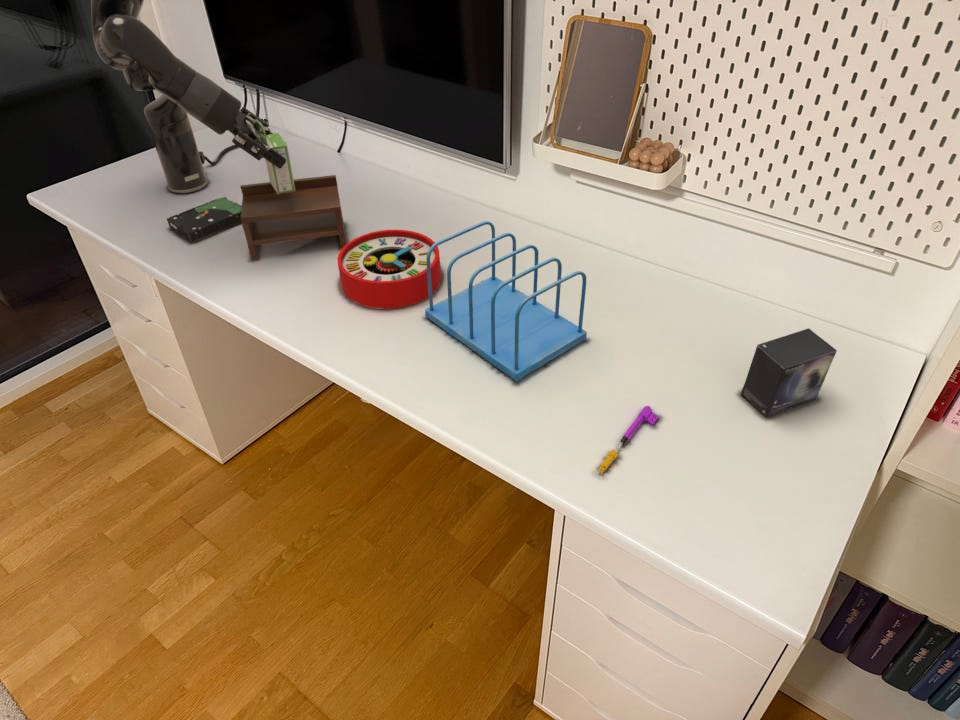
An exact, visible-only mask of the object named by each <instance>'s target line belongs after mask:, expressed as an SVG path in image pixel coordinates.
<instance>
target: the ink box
mask: <svg viewBox="0 0 960 720" xmlns="http://www.w3.org/2000/svg"><path fill="white" fill-rule="evenodd" d="M256 121H257V123H258V129H259V130H260V128H261V130H262V132H263V134H264V135H263V134H262V133H261V131H259V134H260V135H261V136H262V137H263V141H264V142H265V143H266V144H267V145H268V146H269V147H270V148H271V149H273V150H274V151H276V152H277V153H278V154H280V155H281V156H283V157H284V158H285V159H286V163H285V164H284V165H283V167H282V168H278V167H276V166H275V165H274V164H272V163H271V162H269V161H268V160H266V159H265V158H264V159H265V164H266V169H267V173H268V179H269V182H271V184H272V186H273V188H274V189H275V191H276V192H277V194H282V193H287V192H293V191H295V185H294V180H295V179H294V175H293V168H292V164H291V159H290V153H289V148H288V145H287V142H286V141H285V140H284V138H283V137H282V136H281V134H280V133H279V132H278V133H275V132H274V133H273V134H269V135H266V132H265V130H264V128H263V127H262V126H261V124H260V123H259V122H258V120H257V119H256ZM284 141H285V142H286V143H285V142H284Z"/></svg>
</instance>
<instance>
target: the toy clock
mask: <svg viewBox="0 0 960 720" xmlns="http://www.w3.org/2000/svg"><path fill="white" fill-rule="evenodd" d="M434 243H436V242H435V241H434V239H432V238H430V237H428V236H427V235H425V234H423V233H420V232H417V231H414V230H407V229H383V230H376V231H372V232H368V233H365V234H362V235H360V236H356V237H355V238H353V239H352V240H350V241H349V242H346V245H345V246H344V247H343V248H342V249H341V248H340V251H339V253H338V255H337V257H336V258H337V260H336V261H337V266H338V267H337V268H338V272H339V279H340V284H341V290H342V291H343V294H344V295H345V297H347V299H349V300H350V301H352V302H354V303H355V304H357V305H360V306H362V307H366V308H371V309H380V310H394V309H401V308H405V307H409V306H413V305H416V304H418V303H420V302H422V301H425V300H426V299H429V292H428V277H427V253H428V251H429V249H430V247H431V246H432V245H433V244H434ZM440 257H441V256H440V249H439V245H438V246H437V247H435V249H434V250H433V251H432V253H431V256H430V268H431V284H432V295H433V294H434V293H435V292H436V291H437V290H438V288H439V287H440V284H441V282H442V271H441V258H440Z"/></svg>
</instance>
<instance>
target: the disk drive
mask: <svg viewBox="0 0 960 720" xmlns="http://www.w3.org/2000/svg"><path fill="white" fill-rule="evenodd" d="M241 210H242V205H241V204H239V203H238V202H234V201H233V200H231V199H229V198H227V196H223V197H219V198H215V199H213V200H210V201H209V202H205V203H203V204H200V205H197V206H195V207H192V208H190V209H186V210H185V211H182V212H180V213H177V214H174V215H172V216H169V217H167V218H166V222H167V225H168V227H169V228H170V229H171V230H172V231H174V233H177V234H178V235H179V236H181V237H182V238H184V239H185V240H187V241H188V242H190V243H195V242H198V241H200V240H203V239H204V238H207V237H210V236H211V235H214V234H217V233H219V232H221V231H223V230H226V229H228V228H231V227H233V226H235V225H238V224H240V223H242V222H241Z"/></svg>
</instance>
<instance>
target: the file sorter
mask: <svg viewBox="0 0 960 720" xmlns="http://www.w3.org/2000/svg"><path fill="white" fill-rule="evenodd" d="M487 225H488V226H489V227H490V229H491V239H489V240H487V241H484V242H482V243H480V244H477V245H476V246H473V247H472V248H469V249H467V250H464V251H463V252H461V253H458V254H456V256H454V257H453V258H452V259H451V260H450V262H449V264H448V266H447V270H446V284H447V286H446V287H447V297H446V298H444V299H443V300H441V301H439V302H437V303H435V304H434V300H433V294H432V284H431V268H430V256H431V253H432V251H433V250H434V249H435V247H437V246H438V247H439V246H440V245H442V244H444V243H447V242H450V241H451V240H453V239H455V238H458V237H460V236H462V235H464V234H467V233H469V232H471V231H474V230H476V229H479V228H481V227H483V226H487ZM509 237H510V239H511V241H512V252H510V253H507V254H505V255H504V256H501V257H499V258H497V259H496V242H497V241H499V240H502V239H505V238H509ZM488 245H491V262H489V263H486V264H485V265H482V266H480V267H478V268H477V269H476V270H475V271H474V272H473V273H472V275H471V276H470V278H469V282H468V287H467V288H465V289H463V290H461V291H460V292H457V293H455V294H453V293H452V269H453V266H454V265H455V263H456V262H457V261H459V259H461V258H463V257H465V256H467V255H469V254H472V253H474V252H476V251H478V250H480V249H482V248H485V247H486V246H488ZM529 249H530V250H531V249H532V250H533V251H534V266H531V267H530V268H527V269H526V270H524V271H522V272H520V273H518V274H516V270H517V269H516V268H517V263H516V262H517V255H518V254H520V253H523V252H525V251H527V250H529ZM510 258H511V259H512V260H511V261H512V264H511V266H512V268H511V277H510V278H508V279H506V280H502V279H500V278H498V277H497V276H496V265H497V264H500V263H501V262H503V261H505V260H508V259H510ZM552 262H556V264H557V277H556V278H557V280H555V281H554V282H552V283H550V284H548V285H547V286H545V287H543V288H540V289H539V290H538V277H539V276H538V274H539V269H540V268H543V267H544V266H547V265H549V264H551V263H552ZM490 268H491V276H490V277H488V278H485V279H483V280H482V281H480V282H478V283H475V284H474V281H475V279H476V278H477V276H478V275H479V274H480V273H482V272H483V271H485V270H487V269H490ZM562 269H563V265H562V261H561V260H560V259H559V258H557V257H550V258H547V259H546V260H544V261H542V262H539V249H538V247H537V246H535V245H534V244H526V245H524V246H522V247H520V248H518V249H517V239H516V237H515V235H514V234H513V233H511V232H504V233H503V234H500V235H498V236H496V229H495V225H494V224H493V223H492V221H489V220H484V221H481V222H479V223H477V224H474V225H472V226H469V227H467V228H465V229H462V230H459V231H458V232H456V233H453V234H451V235H449V236H447V237H444V238H442V239H440V240H437V241H436V242H435V243H434V244H433V245H432V246H431V247H430V249H429V251H428V253H427V277H428V292H429V297H428V304H429V307H427V308H425V309H424V316H425V317H426V318H427V319H428V320H430V321H431V322H433V323H434V324H436V325H437V326H439V327H440V328H441V329H443V330H444V331H445V332H447V333H448V334H449V335H451V336H452V337H454V338H455V339H456V340H458V341H459V342H461V343H462V344H463V345H465V346H466V347H468V348H469V349H470V350H472V351H473V352H475V353H476V354H477V355H479V356H481V357H482V358H483V359H485V360H486V361H487V362H489V363H490V364H491V365H493V366H494V367H496V368H497V369H499V370H500V371H501V372H503V373H504V374H506V375H507V376H508V377H510V378H511V379H513V380H514V381H516V382H518V381H520V380H521V379H522V378H524V377H526V376H528V375H529V374H531V373H532V372H534V371H536V370H537V369H539V368H541V367H542V366H544V365H545V364H547V363H549V362H551V361H552V360H554V359H555V358H557V357H559V356H560V355H562V354H563V353H566V352H567V351H568V350H571V348H573V347H575V346H577V345H578V344H580V343H582V342H583V341H585V340H586V339H587V331H586V330H585V329H583V322H584V321H583V320H584V312H585V302H586V301H585V300H586V291H587V275H586V273H585V272H583V271H582V270H576V271H574V272H572V273H569V274H567V275H566V276H563V277H562V272H563V271H562ZM532 272H533V289H532V290H533V291H532V293H531V294H530V295H528V294H526V293H524V292H522V291H520V290H518V289H517V288H516V281H517V280H519V279H521V278H523V277H525V276H526V275H529V274H531V273H532ZM576 276H581V279H582V282H581V283H582V284H581V295H580V304H579V305H580V306H579V315H578V324H575V323H573V322H572V321H571V320H568V319H567V318H565V317H564V316H562V315H560V314H559V313H560V299H561V286H562V285H561V284H562V283H564V282H566V281H568V280H570V279H572V278H574V277H576ZM510 284H511V285H510ZM555 287H556V294H555V305H554V306H555V308H554V311H553V310H552V309H550V308H548V307H547V306H545V305H543V304H542V303H541V302H539V301H537V298H538V296H540V295H542V294H544V293H545V292H547V291H550V290H551V289H554V288H555ZM452 294H453V295H452Z"/></svg>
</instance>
